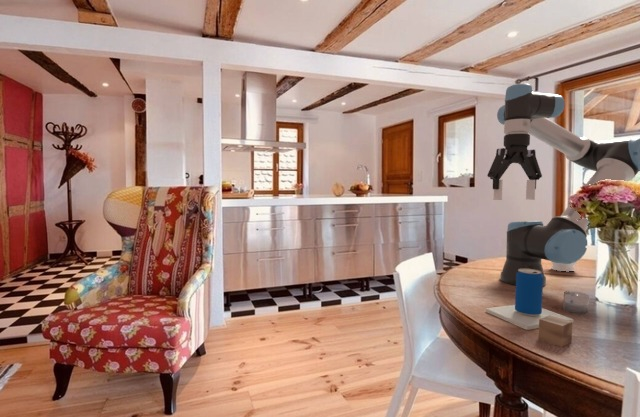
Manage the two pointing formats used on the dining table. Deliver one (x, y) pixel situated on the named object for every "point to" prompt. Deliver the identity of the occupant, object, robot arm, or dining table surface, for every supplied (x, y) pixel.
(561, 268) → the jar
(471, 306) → the dining table surface
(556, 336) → the walnut block
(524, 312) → the beverage can
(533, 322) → the white board
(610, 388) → the dining table surface
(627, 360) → the dining table surface
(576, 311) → the grey metal tin
